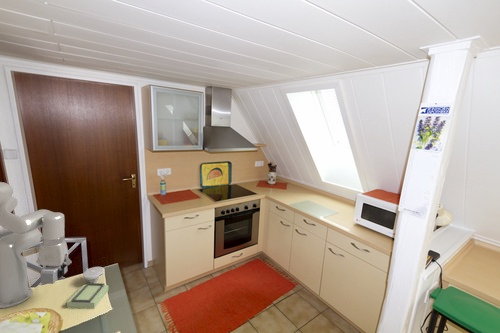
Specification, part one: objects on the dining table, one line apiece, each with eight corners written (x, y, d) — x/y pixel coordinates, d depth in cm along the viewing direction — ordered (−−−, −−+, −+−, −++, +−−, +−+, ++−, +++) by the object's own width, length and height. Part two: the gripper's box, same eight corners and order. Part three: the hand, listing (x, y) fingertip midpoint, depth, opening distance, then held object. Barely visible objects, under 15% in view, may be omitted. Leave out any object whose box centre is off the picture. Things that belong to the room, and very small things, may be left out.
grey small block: (40, 283, 99) (40, 271, 98) (56, 271, 108) (56, 259, 107) (53, 283, 100) (52, 271, 99) (67, 271, 109) (67, 260, 108)
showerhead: (93, 263, 126) (108, 267, 124) (93, 275, 127) (108, 278, 125) (77, 273, 116) (93, 277, 115) (77, 285, 118) (93, 290, 116)
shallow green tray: (67, 307, 103) (66, 300, 103) (84, 289, 115) (83, 282, 115) (94, 308, 104) (94, 300, 104) (108, 290, 116) (108, 283, 116)
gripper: (25, 242, 97) (27, 280, 99) (67, 245, 98) (67, 282, 101) (40, 234, 104) (41, 270, 107) (79, 237, 106) (79, 272, 108)
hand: (54, 275), depth 104 cm, fingers closed on grey small block, 5 cm apart
